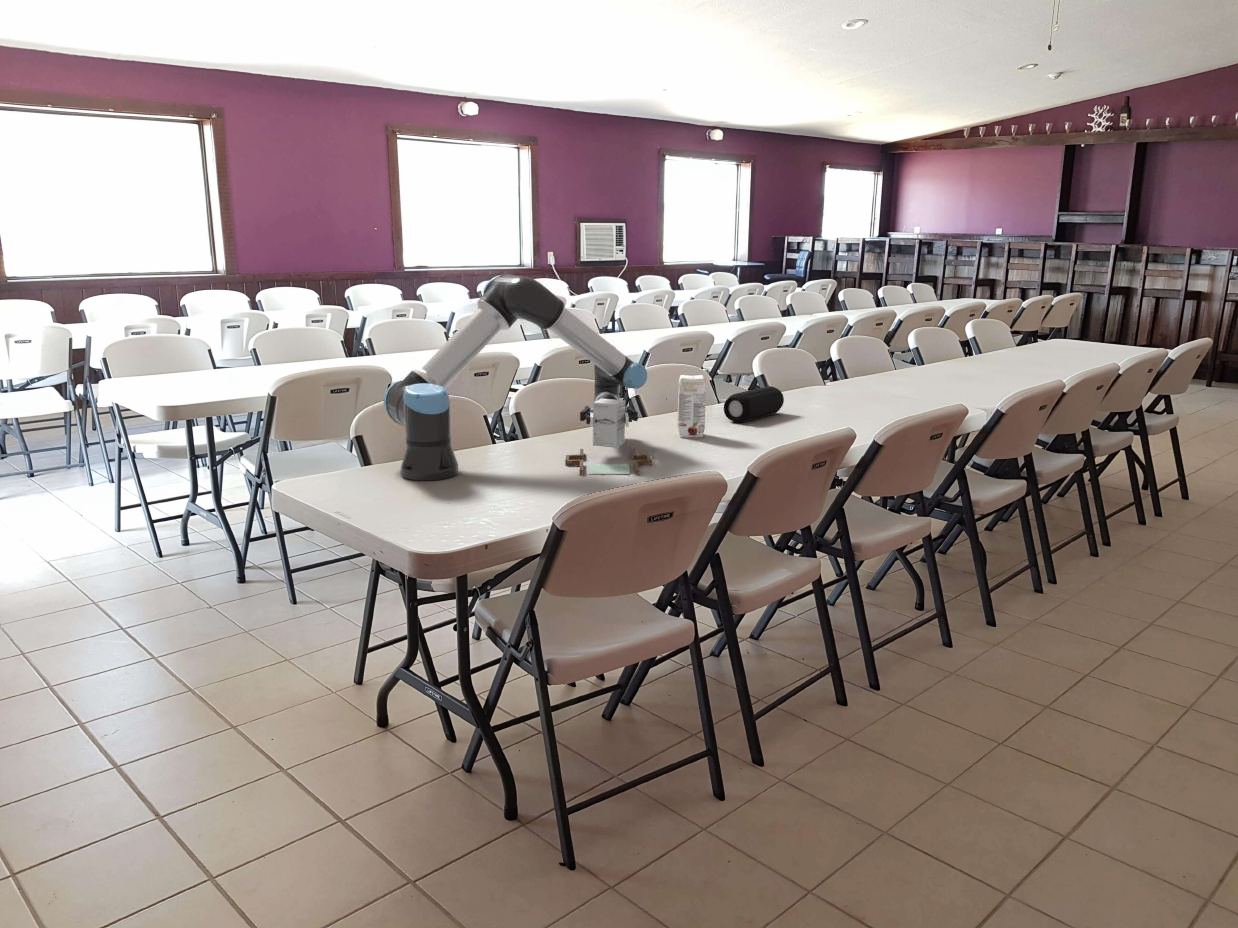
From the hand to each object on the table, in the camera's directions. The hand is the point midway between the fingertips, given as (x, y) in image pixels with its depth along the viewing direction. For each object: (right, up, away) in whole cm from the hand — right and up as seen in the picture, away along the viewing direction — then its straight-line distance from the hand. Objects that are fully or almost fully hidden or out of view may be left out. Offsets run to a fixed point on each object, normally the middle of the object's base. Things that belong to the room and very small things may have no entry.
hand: (609, 422), depth 262 cm
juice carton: (+25, -3, +38) cm, 46 cm away
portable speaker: (+49, +4, +66) cm, 82 cm away
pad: (0, -13, -4) cm, 14 cm away
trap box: (0, -12, +2) cm, 12 cm away
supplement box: (0, -6, +6) cm, 9 cm away
